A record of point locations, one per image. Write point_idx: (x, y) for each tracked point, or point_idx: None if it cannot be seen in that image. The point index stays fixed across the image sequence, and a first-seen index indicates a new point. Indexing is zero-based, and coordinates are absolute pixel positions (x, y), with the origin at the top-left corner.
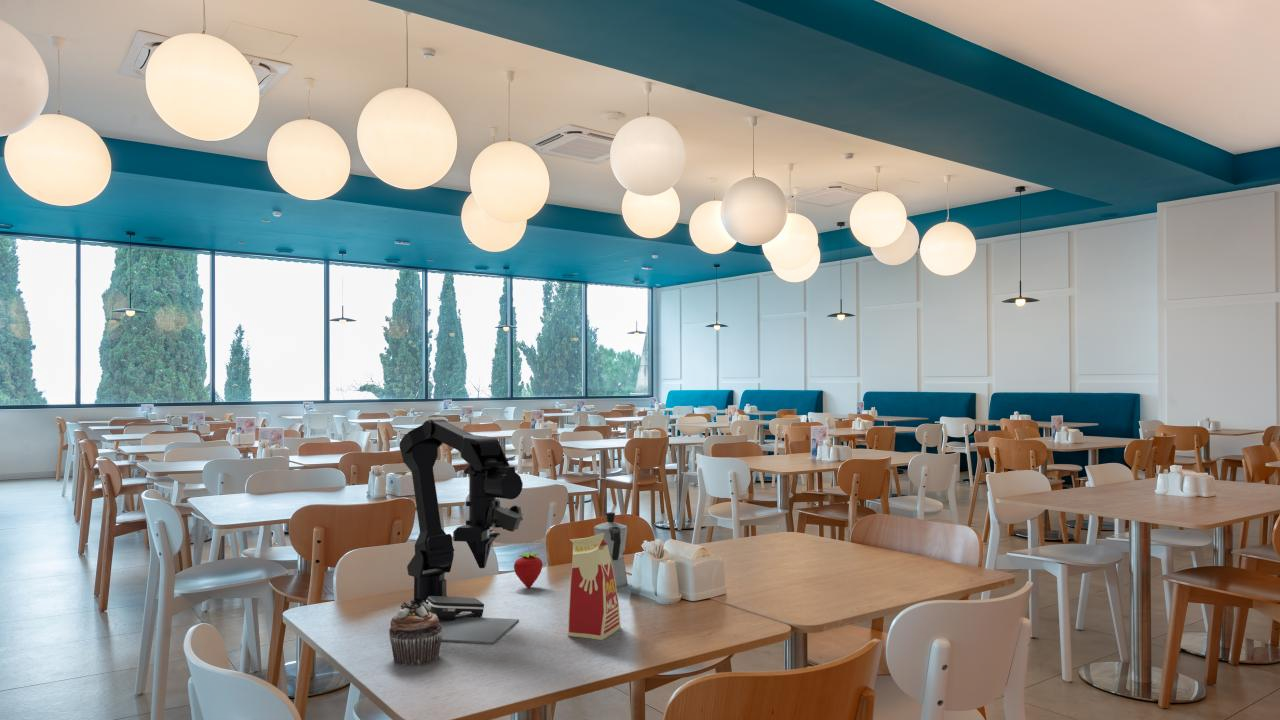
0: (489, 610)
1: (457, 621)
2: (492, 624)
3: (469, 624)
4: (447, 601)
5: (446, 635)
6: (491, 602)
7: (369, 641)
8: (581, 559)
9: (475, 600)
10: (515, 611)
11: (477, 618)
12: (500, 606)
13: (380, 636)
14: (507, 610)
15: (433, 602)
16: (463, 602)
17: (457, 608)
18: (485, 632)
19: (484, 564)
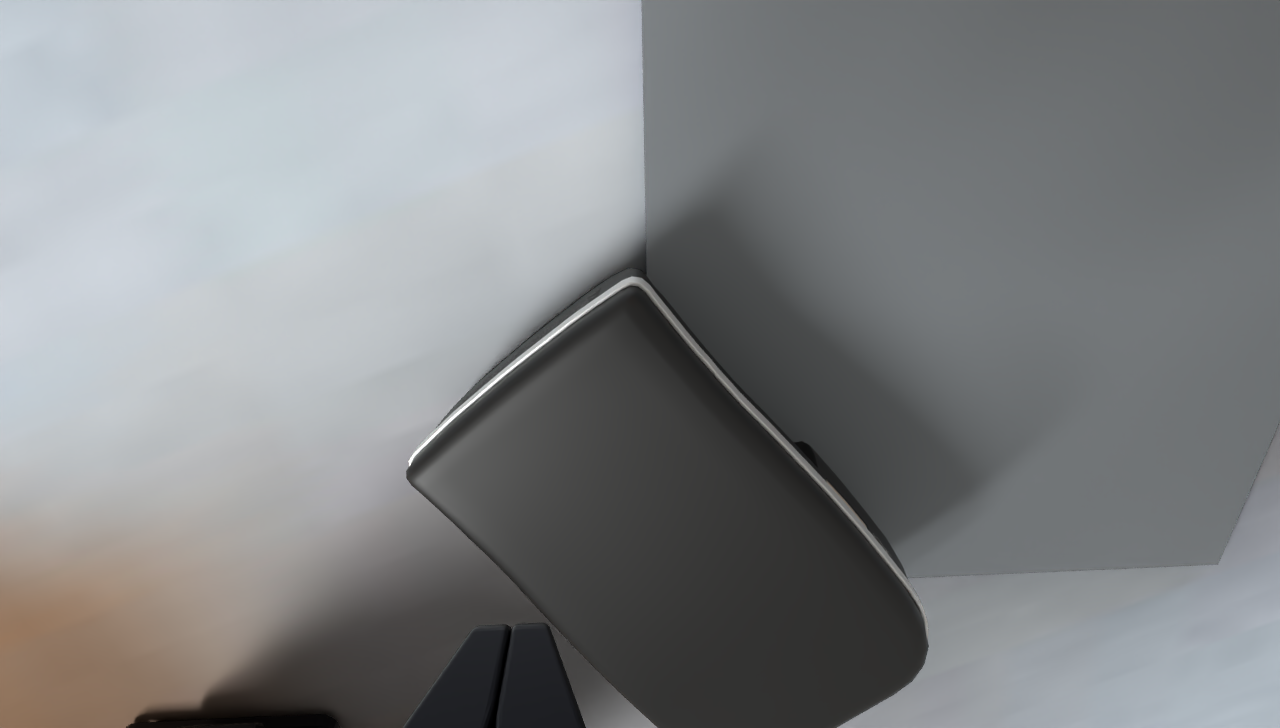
0: (330, 300)
1: (800, 407)
2: (881, 57)
3: (890, 278)
4: (830, 598)
5: (1215, 331)
6: (63, 386)
7: (1205, 701)
8: None
9: (534, 427)
10: (260, 14)
11: (687, 285)
12: (150, 252)
13: (1108, 694)
14: (259, 123)
15: (916, 673)
16: (747, 479)
17: (818, 476)
18: (1169, 19)
19: (560, 668)
